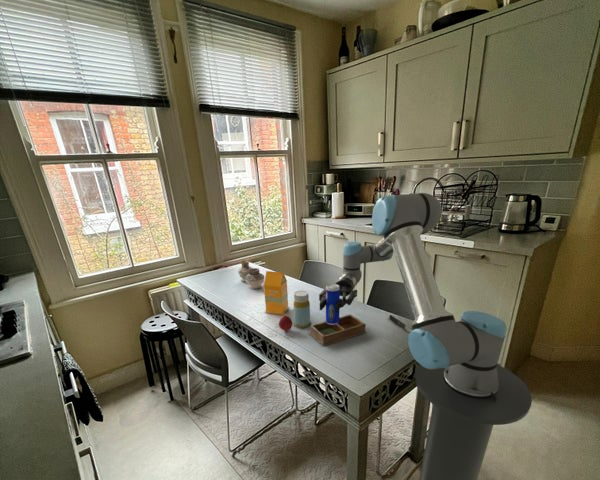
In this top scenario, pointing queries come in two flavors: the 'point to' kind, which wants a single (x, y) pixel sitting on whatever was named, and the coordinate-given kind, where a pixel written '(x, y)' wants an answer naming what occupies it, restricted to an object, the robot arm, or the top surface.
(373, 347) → the top surface
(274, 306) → the orange juice
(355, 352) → the top surface
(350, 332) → the wooden divided tray
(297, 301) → the bottle
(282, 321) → the onion
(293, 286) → the top surface
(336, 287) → the beverage can
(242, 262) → the pottery
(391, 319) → the kitchen knife
